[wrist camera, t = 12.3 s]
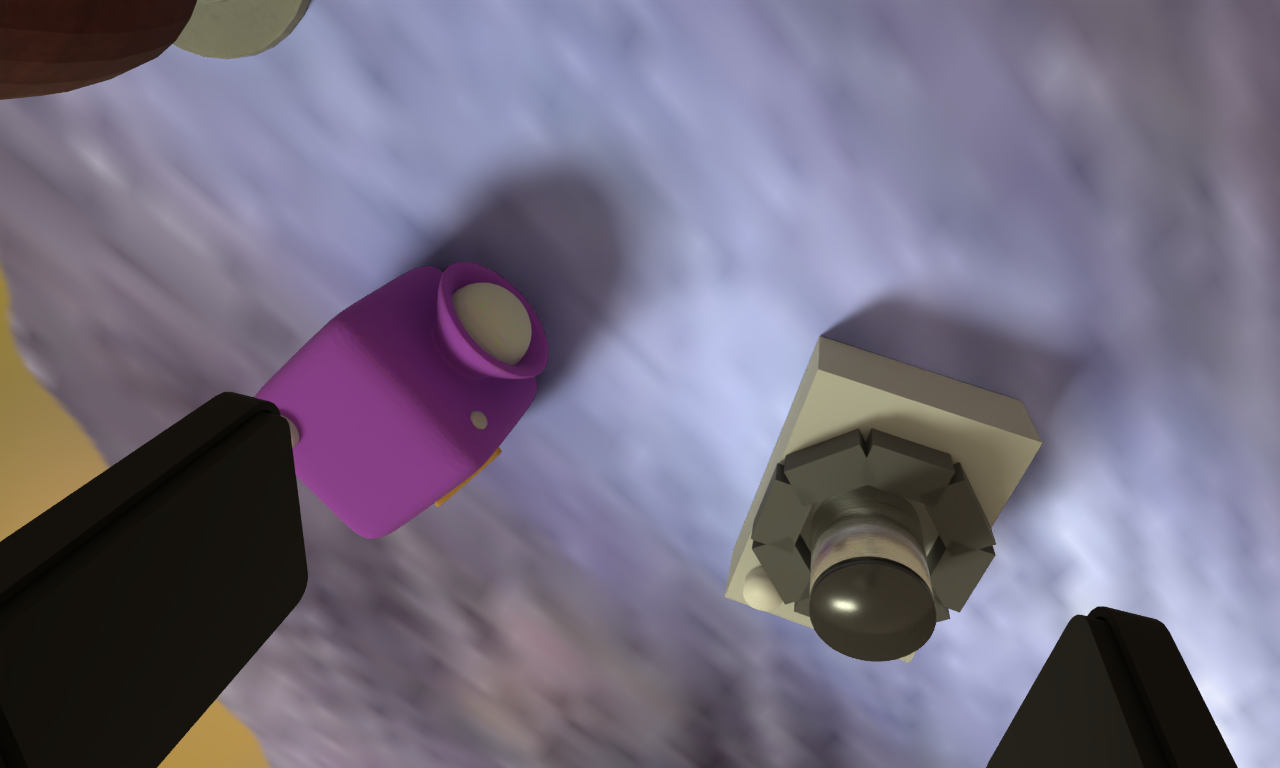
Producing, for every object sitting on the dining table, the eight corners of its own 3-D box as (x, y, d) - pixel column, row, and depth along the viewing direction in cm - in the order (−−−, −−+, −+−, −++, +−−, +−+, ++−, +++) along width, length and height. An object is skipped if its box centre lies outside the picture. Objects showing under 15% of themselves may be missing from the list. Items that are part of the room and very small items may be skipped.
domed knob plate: (817, 335, 37) (815, 383, 32) (1024, 402, 36) (1053, 461, 31) (731, 549, 44) (719, 615, 39) (904, 610, 43) (913, 685, 38)
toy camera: (607, 322, 39) (543, 410, 31) (475, 478, 46) (390, 587, 37) (442, 184, 38) (325, 234, 30) (329, 364, 45) (206, 449, 36)
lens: (790, 519, 37) (784, 602, 32) (874, 465, 35) (882, 545, 30) (857, 586, 38) (861, 678, 33) (943, 538, 36) (963, 628, 31)
